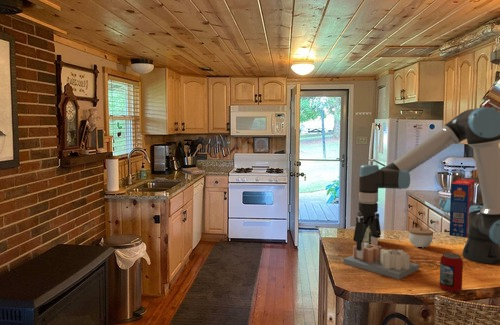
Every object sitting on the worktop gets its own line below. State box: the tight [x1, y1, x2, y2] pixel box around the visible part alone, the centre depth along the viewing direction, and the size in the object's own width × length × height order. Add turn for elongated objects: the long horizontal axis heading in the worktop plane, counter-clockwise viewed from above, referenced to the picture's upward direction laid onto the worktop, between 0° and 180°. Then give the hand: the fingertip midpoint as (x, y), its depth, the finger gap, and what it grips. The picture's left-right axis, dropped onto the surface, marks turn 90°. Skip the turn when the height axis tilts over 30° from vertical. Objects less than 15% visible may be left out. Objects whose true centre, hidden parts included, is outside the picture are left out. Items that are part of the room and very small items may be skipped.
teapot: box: [438, 197, 451, 214], centre depth 267 cm, size 15×15×11 cm
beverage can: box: [439, 252, 464, 293], centre depth 130 cm, size 7×7×12 cm
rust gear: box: [352, 243, 382, 263], centre depth 157 cm, size 10×10×5 cm
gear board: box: [343, 243, 420, 280], centre depth 153 cm, size 24×16×8 cm, turn 42°
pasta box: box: [448, 178, 476, 239], centre depth 210 cm, size 28×8×28 cm, turn 144°
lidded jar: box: [408, 226, 434, 249], centre depth 181 cm, size 11×11×9 cm
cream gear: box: [380, 248, 411, 270], centre depth 148 cm, size 10×10×5 cm
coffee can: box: [356, 211, 373, 243], centre depth 190 cm, size 10×10×14 cm
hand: (367, 255), depth 157 cm, fingers open, 10 cm apart
